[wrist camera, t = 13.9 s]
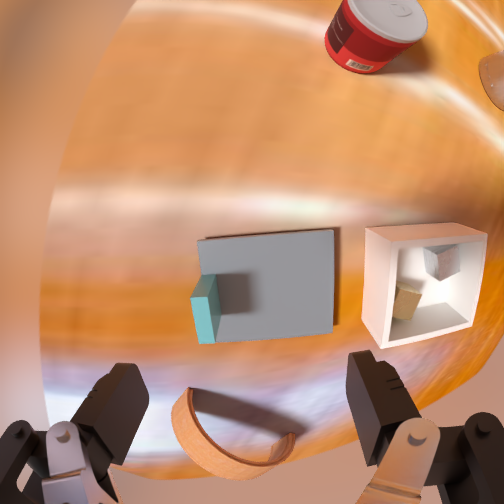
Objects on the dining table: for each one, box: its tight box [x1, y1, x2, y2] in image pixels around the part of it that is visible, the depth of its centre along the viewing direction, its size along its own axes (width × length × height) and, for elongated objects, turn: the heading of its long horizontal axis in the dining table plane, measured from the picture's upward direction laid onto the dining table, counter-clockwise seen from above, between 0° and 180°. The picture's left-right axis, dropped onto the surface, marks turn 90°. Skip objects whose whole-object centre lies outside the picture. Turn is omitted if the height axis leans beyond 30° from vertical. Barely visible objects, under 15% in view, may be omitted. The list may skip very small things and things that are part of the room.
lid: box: [190, 229, 334, 344], centre depth 30 cm, size 15×13×8 cm
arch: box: [171, 387, 295, 480], centre depth 35 cm, size 6×20×10 cm, turn 55°
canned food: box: [325, 0, 428, 73], centre depth 20 cm, size 8×8×11 cm
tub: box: [361, 222, 488, 349], centre depth 29 cm, size 14×12×7 cm
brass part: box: [392, 280, 422, 321], centre depth 31 cm, size 4×4×4 cm
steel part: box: [422, 244, 460, 281], centre depth 29 cm, size 4×4×4 cm
